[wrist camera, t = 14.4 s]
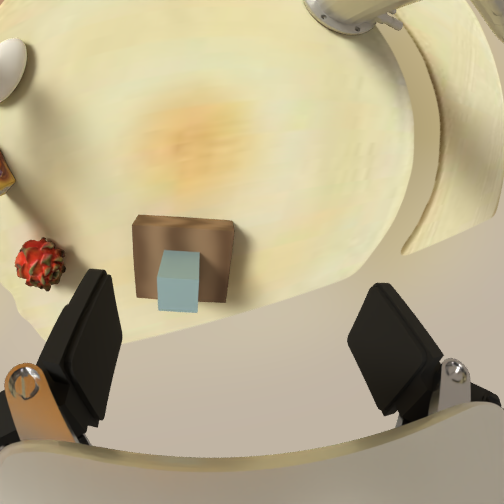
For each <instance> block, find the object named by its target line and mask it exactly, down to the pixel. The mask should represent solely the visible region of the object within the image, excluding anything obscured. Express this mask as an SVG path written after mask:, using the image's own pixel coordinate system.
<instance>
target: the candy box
mask: <svg viewBox="0 0 504 504" xmlns="http://www.w3.org/2000/svg"><path fill="white" fill-rule="evenodd" d="M14 183H15V179H14V177H13V175H12V173H11V172H10V170H9V168H8V166H7V164H6V162H5V160H4V158H3V156H2V153H1V151H0V196H2V195H4V194H5V193H6V192H7V190H8V189H9V188H10V187H11V186H12V185H13V184H14Z"/></svg>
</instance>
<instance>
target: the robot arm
mask: <svg viewBox="0 0 504 504" xmlns="http://www.w3.org/2000/svg"><path fill="white" fill-rule="evenodd" d="M418 1H421V0H303V2H304V4H305V6H306V8H307V9H308V11H309V12H310V13H311V15H312V16H313V17H314V18H315V19H316V20H317V21H319V22H320V23H321V24H323V25H324V26H326V27H327V28H329V29H331V30H333V31H336V32H338V33H342V34H347V35H358V34H362V33H365V32H367V31H369V30H370V29H372V28H373V27H374V26H375V24H376V22H378V23H381V24H383V23H385V24H387V25H388V26H390V27H392V28H394V29H396V30H398V31H399V30H401V29H402V27H403V23H402V22H401V21H399V20H398V19H396V18H394V17H391V16H389V15H387V12H389V13H391V14H395V13H396V9H398V8H401V7H403V6H406V5H409V4H412V3H415V2H418ZM470 1H471V2H472V3H473V5H474V6H475V7H476V9H477V10H478V11H479V13H480V14H481V16H482V17H483V18H484V20H485V21H486V23H487V24H488V26H489V27H490V29H491V30H492V31H493V33H494V34H495V35H496V36H497V38H498V39H499V40H500V41H501V42H503V43H504V0H470ZM321 17H322V18H323V19H322V18H321ZM347 342H348V346H349V348H350V350H351V352H352V354H353V356H354V358H355V360H356V362H357V364H358V366H359V368H360V371H361V372H362V375H363V377H364V379H365V381H366V383H367V385H368V387H369V390H370V392H371V394H372V396H373V398H374V401H375V403H376V405H377V407H378V409H380V410H381V411H382V413H383V415H384V416H387V415H390V414H394V413H395V412H396V411H397V410H398V412H399V416H398V420H397V424H396V427H395V428H394V429H391V430H388V431H385V432H381V433H378V434H375V435H371V436H368V437H364V438H360V439H357V440H353V441H349V442H344V443H340V444H336V445H331V446H326V447H322V448H316V449H310V450H304V451H298V452H290V453H283V454H274V455H265V456H250V457H231V458H195V457H193V458H192V457H175V456H162V455H151V454H141V453H133V452H127V451H120V450H114V449H108V448H102V447H96V446H92V445H91V444H90V442H89V440H88V438H87V437H86V435H85V433H86V431H87V426H93V427H98V424H99V420H103V419H104V416H105V411H106V406H107V401H108V396H109V392H110V386H111V382H112V378H113V374H114V370H115V366H116V362H117V358H118V354H119V350H120V346H121V343H122V329H121V325H120V320H119V316H118V311H117V306H116V300H115V295H114V289H113V283H112V277H111V275H107V273H106V271H105V270H100V269H89V270H88V271H87V273H86V274H85V276H84V278H83V279H82V281H81V283H80V285H79V286H78V288H77V290H76V292H75V293H74V295H73V297H72V299H71V300H70V302H69V304H68V305H66V306H65V307H64V308H63V310H62V312H61V314H60V316H59V318H58V320H57V322H56V323H55V325H54V327H53V329H52V331H51V333H50V335H49V338H48V340H47V342H46V344H45V346H44V348H43V350H42V353H41V355H40V357H39V359H38V362H37V364H36V365H34V364H32V363H23V364H19V365H17V366H15V367H13V368H12V369H11V370H10V372H9V373H8V375H7V376H6V379H5V384H4V387H5V390H3V391H1V392H0V504H504V409H503V408H501V403H500V400H499V398H498V396H497V395H496V394H493V393H492V392H490V391H488V390H486V389H484V388H482V387H479V386H477V385H475V384H473V383H471V382H470V374H469V372H468V369H467V368H466V367H465V366H464V364H462V363H461V362H460V361H458V360H456V359H453V358H448V359H446V360H444V361H443V363H442V364H440V362H439V361H440V360H441V358H442V357H443V356H444V355H443V353H442V352H441V350H440V349H439V347H438V346H437V345H436V343H435V342H434V340H433V339H432V338H431V336H430V335H429V333H428V332H427V331H426V329H425V328H424V327H423V325H422V324H421V323H420V321H419V320H418V319H417V317H416V316H415V315H414V313H413V312H412V311H411V310H410V308H409V307H408V306H407V304H406V303H405V302H404V300H403V299H402V298H401V297H400V295H399V294H398V293H397V292H396V290H395V289H394V288H393V287H392V286H391V285H390V284H389V283H376V284H374V285H373V287H371V288H370V289H369V291H368V294H367V296H366V298H365V301H364V303H363V305H362V307H361V310H360V312H359V314H358V316H357V318H356V321H355V322H354V325H353V327H352V329H351V331H350V333H349V335H348V339H347Z"/></svg>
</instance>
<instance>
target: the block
mask: <svg viewBox="0 0 504 504" xmlns="http://www.w3.org/2000/svg"><path fill="white" fill-rule="evenodd" d="M199 259H200V252H187V251H171V250H164V252H163V256H162V260H161V263H160V267H159V271H158V275H157V291H158V310H159V311H174V312H192V313H197V311H198V290H199Z"/></svg>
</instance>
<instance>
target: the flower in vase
mask: <svg viewBox="0 0 504 504" xmlns="http://www.w3.org/2000/svg"><path fill="white" fill-rule="evenodd" d="M26 61H27V51H26V46H25V44H24V42H23V41H22V40H21V39H19V38H10V39H7V40H5V41H3V42H1V43H0V102H2V101H3V100H5V99H6V98H7V97H8V96H9V95H10V94H11V93H12V92H13V91H14V89H15V88H16V87H17V85H18V83H19V82H20V80H21V78H22V75H23V73H24V70H25V66H26Z"/></svg>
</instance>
